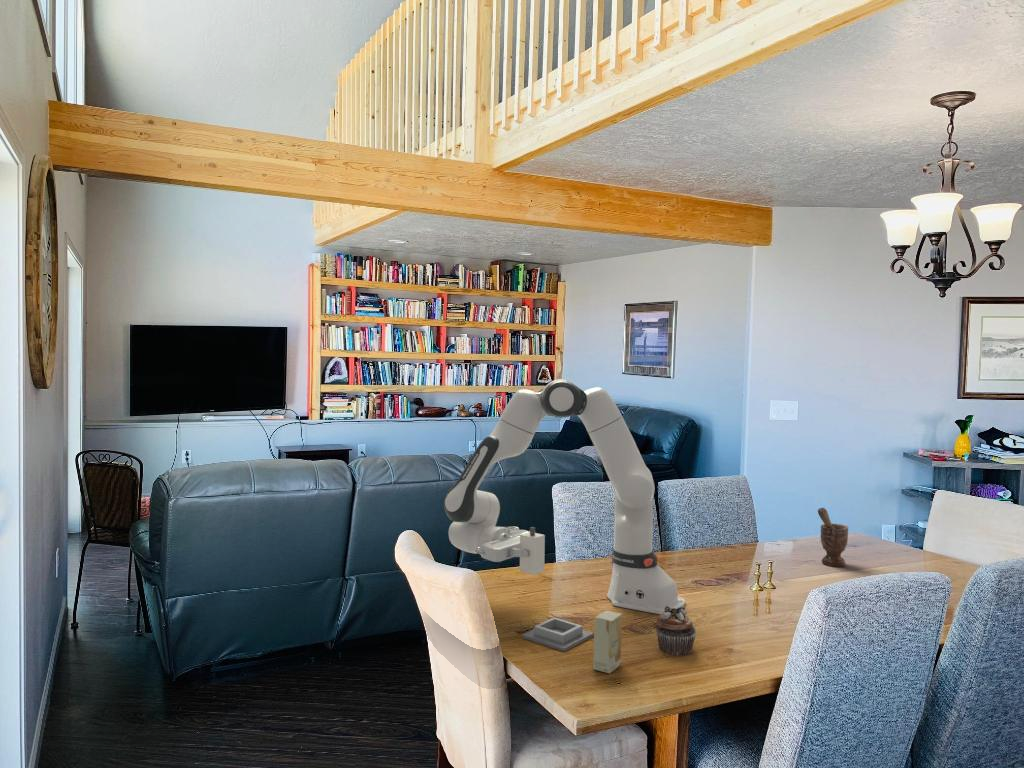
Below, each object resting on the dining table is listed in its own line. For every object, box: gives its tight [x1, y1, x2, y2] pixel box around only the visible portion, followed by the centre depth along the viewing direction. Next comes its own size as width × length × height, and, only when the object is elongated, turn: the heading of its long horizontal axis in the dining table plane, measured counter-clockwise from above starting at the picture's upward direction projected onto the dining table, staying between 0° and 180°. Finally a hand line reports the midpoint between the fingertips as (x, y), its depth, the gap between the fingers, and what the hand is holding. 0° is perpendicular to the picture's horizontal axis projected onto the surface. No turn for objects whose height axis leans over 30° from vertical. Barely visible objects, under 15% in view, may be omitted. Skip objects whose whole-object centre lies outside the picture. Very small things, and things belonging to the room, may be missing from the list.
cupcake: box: [655, 606, 697, 656], centre depth 187 cm, size 10×10×10 cm
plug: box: [519, 526, 546, 576], centre depth 209 cm, size 5×4×12 cm
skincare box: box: [592, 610, 623, 674], centre depth 176 cm, size 6×4×12 cm
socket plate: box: [521, 617, 594, 652], centre depth 194 cm, size 13×13×3 cm
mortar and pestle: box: [817, 507, 849, 568], centre depth 259 cm, size 12×9×20 cm
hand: (534, 551), depth 208 cm, fingers closed on plug, 4 cm apart
